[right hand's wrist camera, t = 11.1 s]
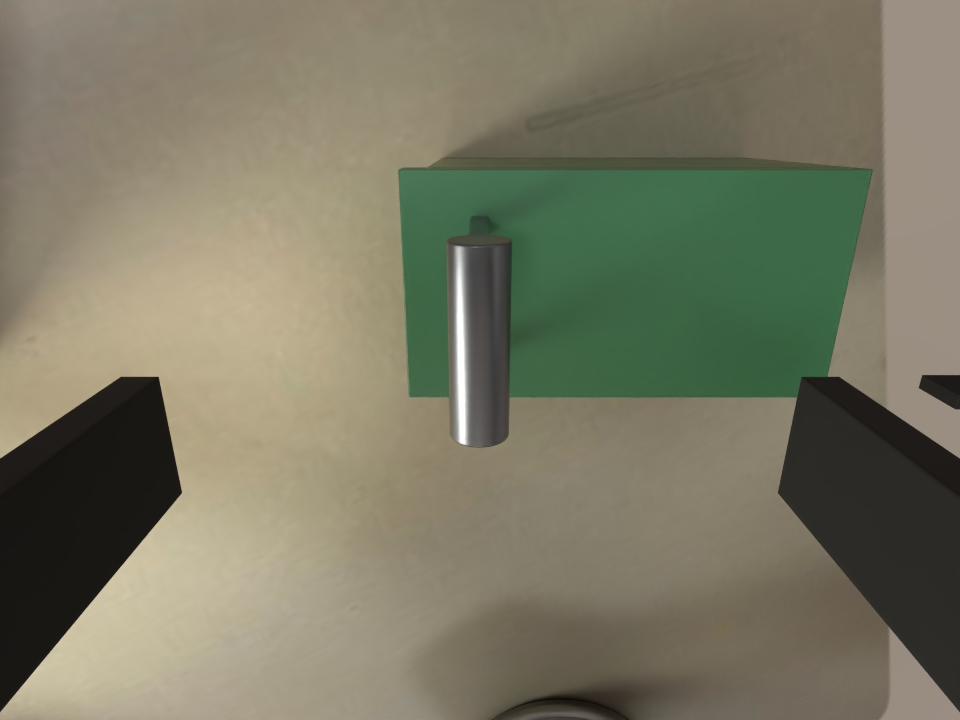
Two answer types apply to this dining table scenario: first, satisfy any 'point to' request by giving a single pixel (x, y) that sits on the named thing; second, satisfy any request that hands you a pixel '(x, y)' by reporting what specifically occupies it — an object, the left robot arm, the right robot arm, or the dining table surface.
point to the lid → (621, 283)
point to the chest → (619, 163)
